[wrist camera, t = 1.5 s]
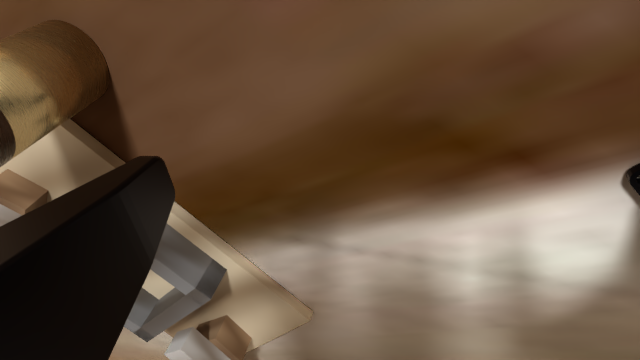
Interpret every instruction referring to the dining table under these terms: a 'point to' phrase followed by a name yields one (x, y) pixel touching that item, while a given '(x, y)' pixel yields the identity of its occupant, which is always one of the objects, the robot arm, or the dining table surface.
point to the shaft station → (164, 260)
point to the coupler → (45, 82)
